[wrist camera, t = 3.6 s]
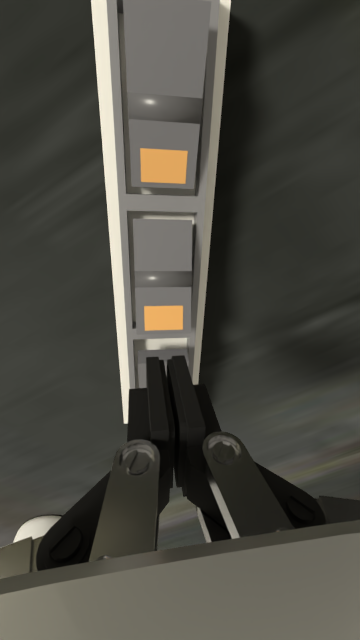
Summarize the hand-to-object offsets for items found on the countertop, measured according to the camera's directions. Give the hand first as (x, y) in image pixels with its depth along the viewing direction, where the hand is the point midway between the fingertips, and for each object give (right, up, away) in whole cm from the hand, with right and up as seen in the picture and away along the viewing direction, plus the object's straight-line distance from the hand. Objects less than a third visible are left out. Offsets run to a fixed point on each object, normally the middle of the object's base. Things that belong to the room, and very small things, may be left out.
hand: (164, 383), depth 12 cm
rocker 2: (-1, +6, +8) cm, 10 cm away
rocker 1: (0, +15, +3) cm, 15 cm away
